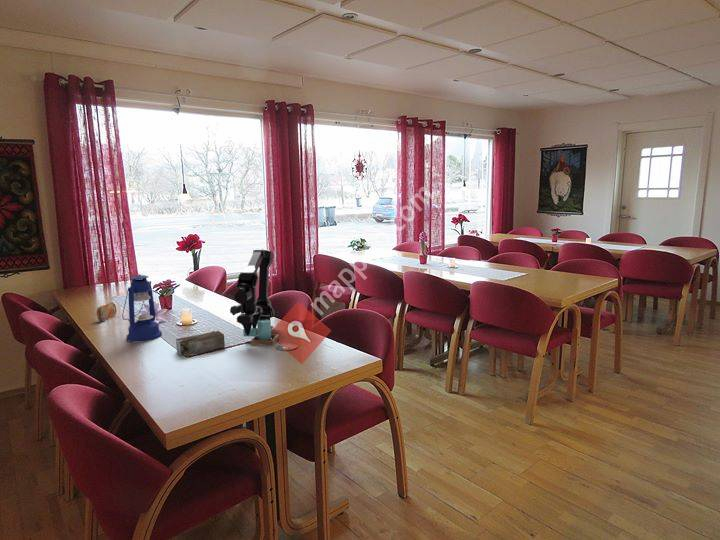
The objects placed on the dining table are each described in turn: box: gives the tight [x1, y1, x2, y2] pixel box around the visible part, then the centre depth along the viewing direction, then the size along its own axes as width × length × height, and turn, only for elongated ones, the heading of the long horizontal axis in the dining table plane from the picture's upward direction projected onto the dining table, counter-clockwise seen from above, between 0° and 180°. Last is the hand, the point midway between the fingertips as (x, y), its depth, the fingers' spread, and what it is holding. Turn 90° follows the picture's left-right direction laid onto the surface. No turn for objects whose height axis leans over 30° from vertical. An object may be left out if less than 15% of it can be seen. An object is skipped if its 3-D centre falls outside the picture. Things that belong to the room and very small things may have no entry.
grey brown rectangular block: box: [175, 330, 226, 357], centre depth 200 cm, size 8×19×7 cm, turn 125°
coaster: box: [276, 342, 291, 351], centre depth 201 cm, size 9×9×1 cm
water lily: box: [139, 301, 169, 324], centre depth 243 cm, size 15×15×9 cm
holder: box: [250, 333, 280, 346], centre depth 209 cm, size 10×10×2 cm
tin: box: [96, 302, 117, 322], centre depth 250 cm, size 15×3×8 cm, turn 179°
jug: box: [242, 320, 273, 341], centre depth 209 cm, size 12×6×10 cm, turn 88°
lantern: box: [122, 274, 162, 342], centre depth 216 cm, size 17×15×30 cm
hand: (251, 332), depth 209 cm, fingers open, 9 cm apart
